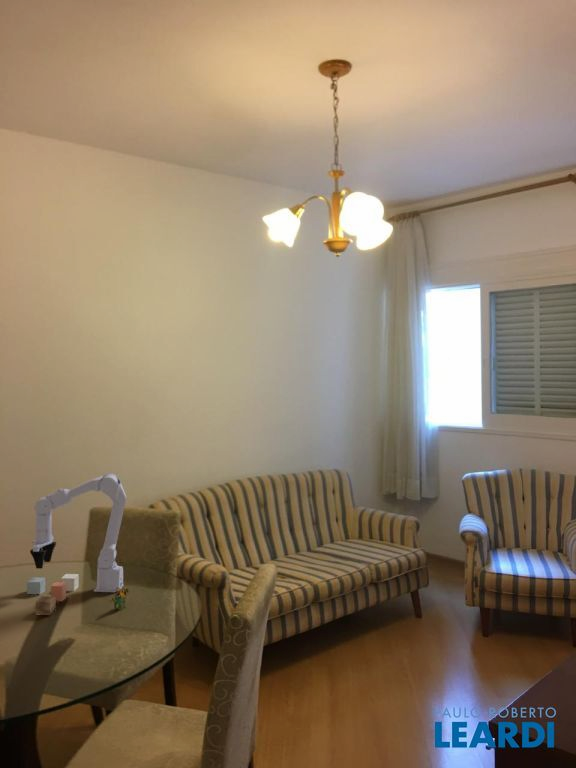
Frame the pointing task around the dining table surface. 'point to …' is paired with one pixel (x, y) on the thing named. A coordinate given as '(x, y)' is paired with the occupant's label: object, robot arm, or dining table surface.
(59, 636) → the dining table surface
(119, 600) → the figurine
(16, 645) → the dining table surface
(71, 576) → the pale grey block
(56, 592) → the brick-red block
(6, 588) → the dining table surface
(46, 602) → the walnut block
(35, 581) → the blue-grey block
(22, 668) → the dining table surface
